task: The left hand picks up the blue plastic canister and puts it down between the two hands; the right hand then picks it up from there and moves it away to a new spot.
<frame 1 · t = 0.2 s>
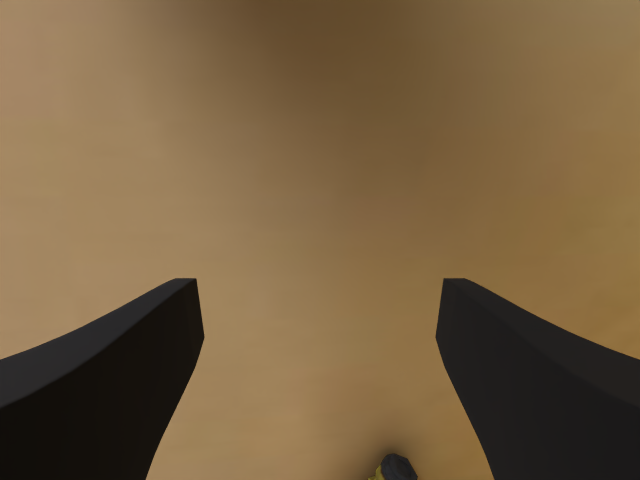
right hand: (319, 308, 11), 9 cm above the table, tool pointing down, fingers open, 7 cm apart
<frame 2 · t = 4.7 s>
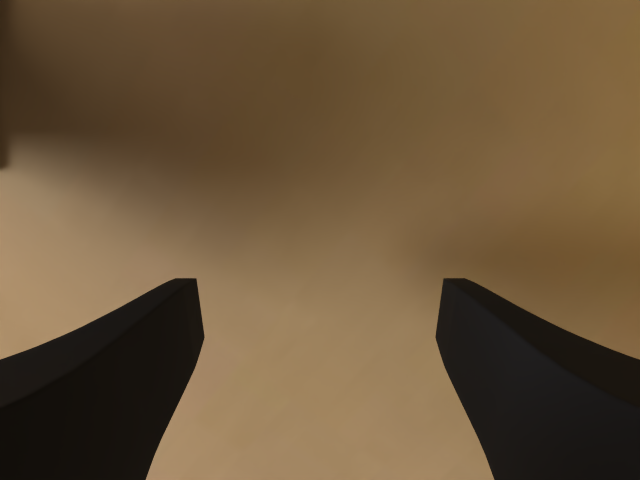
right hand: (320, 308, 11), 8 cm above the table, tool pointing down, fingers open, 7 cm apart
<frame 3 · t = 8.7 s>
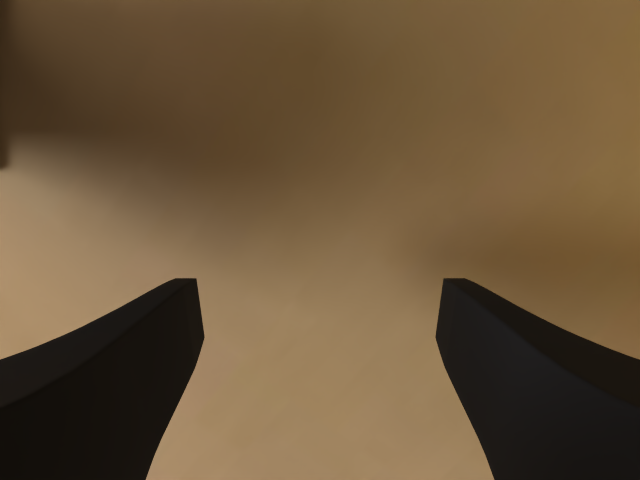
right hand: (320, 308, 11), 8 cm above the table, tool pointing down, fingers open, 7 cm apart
when the left hand's fingers open (1 cm above the table, at t = 12.9 s): canister stays where it is, on the table.
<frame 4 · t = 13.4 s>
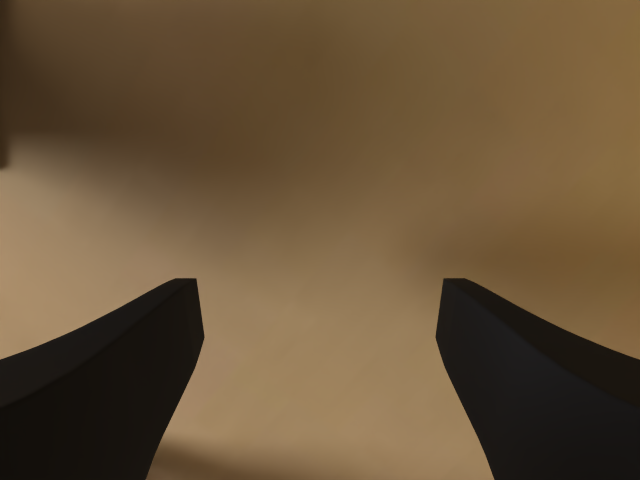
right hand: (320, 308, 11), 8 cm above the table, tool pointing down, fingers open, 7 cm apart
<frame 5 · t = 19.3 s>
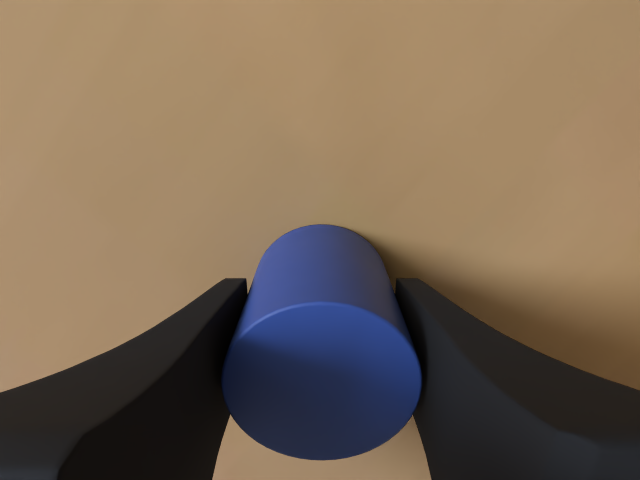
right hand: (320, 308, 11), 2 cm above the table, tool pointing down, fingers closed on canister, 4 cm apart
canister: (321, 285, 12), on the table, touching right hand
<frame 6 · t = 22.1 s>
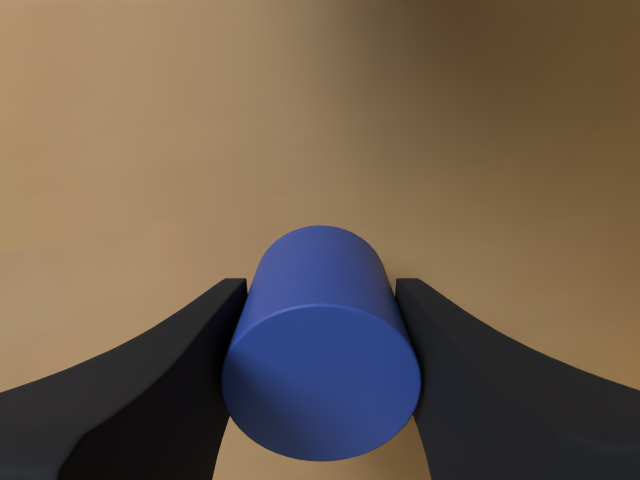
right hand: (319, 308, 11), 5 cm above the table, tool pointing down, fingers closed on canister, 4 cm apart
canister: (320, 286, 12), point 4 cm above the table, touching right hand
when the right hand's fingers open (2 cm above the table, at t = 24.9 s): canister stays where it is, on the table.
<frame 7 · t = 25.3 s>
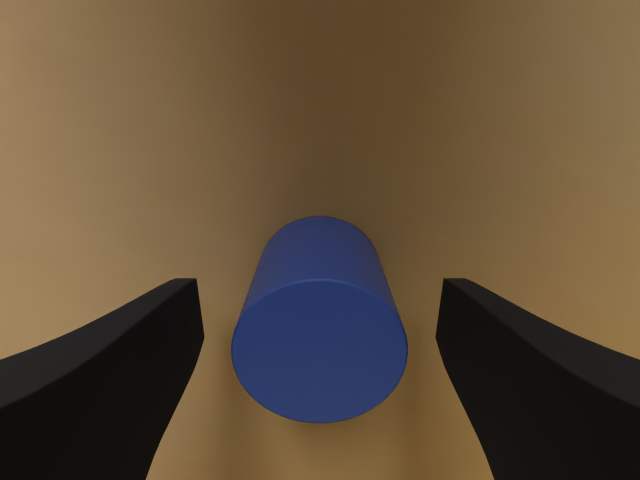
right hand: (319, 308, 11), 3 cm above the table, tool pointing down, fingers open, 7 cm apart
canister: (319, 272, 13), on the table
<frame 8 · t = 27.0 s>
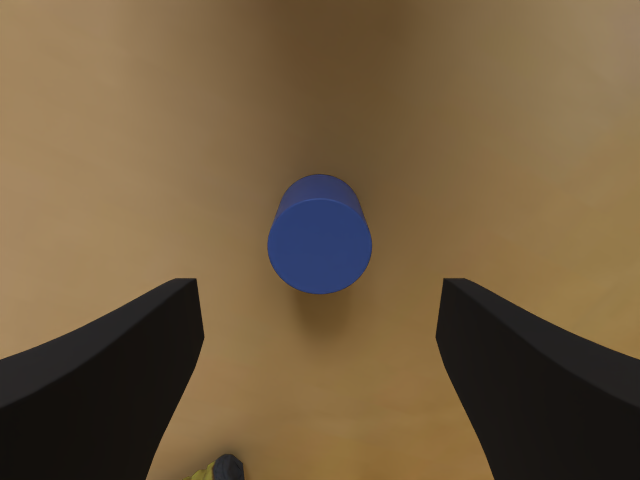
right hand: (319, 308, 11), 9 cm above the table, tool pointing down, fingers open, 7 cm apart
canister: (319, 214, 20), on the table
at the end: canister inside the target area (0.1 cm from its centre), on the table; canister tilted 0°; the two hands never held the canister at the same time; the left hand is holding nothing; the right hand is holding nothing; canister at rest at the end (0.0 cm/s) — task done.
